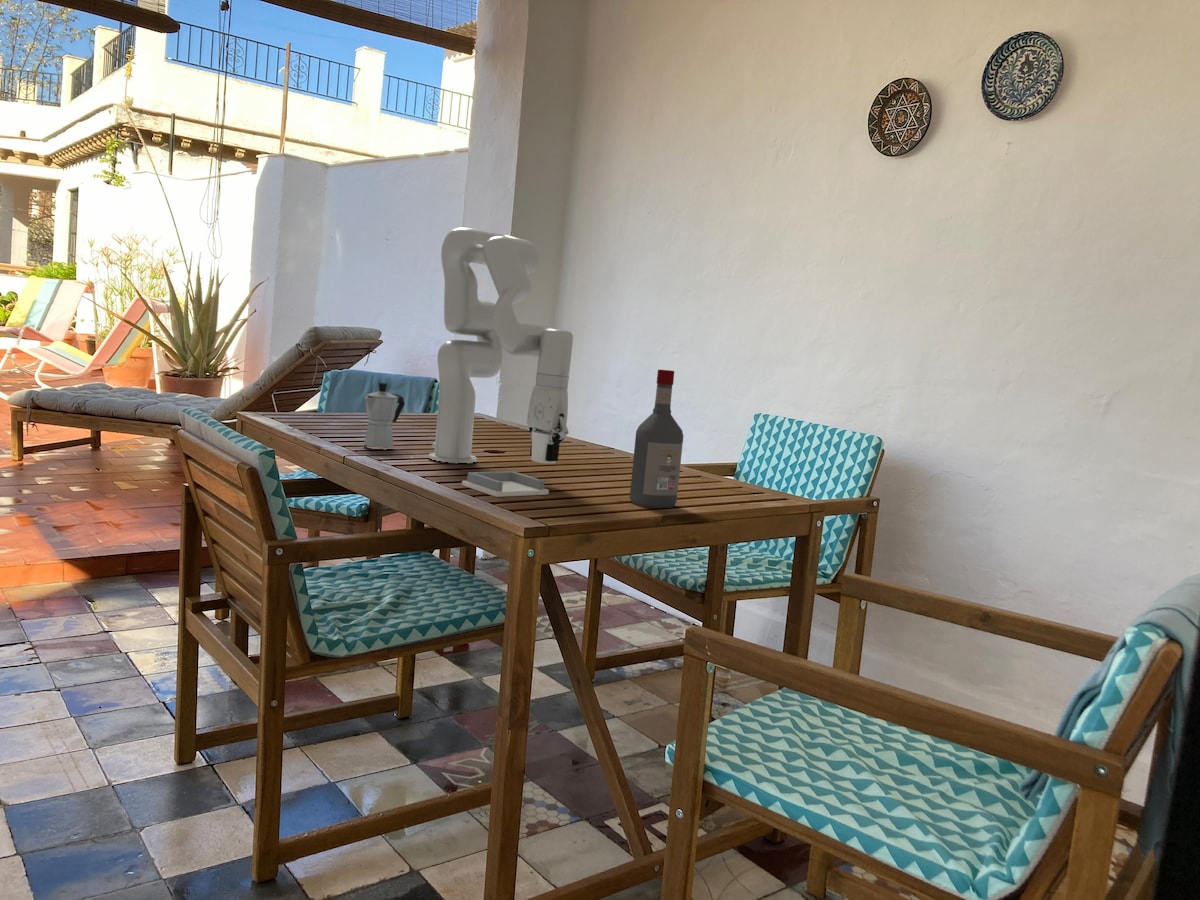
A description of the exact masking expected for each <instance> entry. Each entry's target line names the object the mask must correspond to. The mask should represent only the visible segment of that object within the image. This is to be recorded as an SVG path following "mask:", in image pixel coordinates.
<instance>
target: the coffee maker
mask: <svg viewBox="0 0 1200 900" xmlns="http://www.w3.org/2000/svg"><path fill="white" fill-rule="evenodd" d="M387 387H388V383H385V382H378V391H375V392H370V393H367V394H365V395H364V396H365V397H364V398H363V399H364V400H365V407H366V408H365V409H366V418H367V419H368V423H367V430H366V433H365V437H364V442H363V446H364V445H367V446H371V447H383V448H388V447H394V437H393V434H394V433H393V423H396V422H397V421H398V418H399V416H400V415H401V413H402V410H403V408H404V406H405V400H404V398H403V396H401V395H400V394H396V393H395V394H394V393H391V392H390V393H389V392H387V391H386V390H387Z"/></svg>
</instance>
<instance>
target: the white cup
mask: <svg viewBox="0 0 1200 900" xmlns="http://www.w3.org/2000/svg"><path fill="white" fill-rule="evenodd" d="M556 435H557V434H553V436H554V437H555V436H556ZM549 436H550V435H549V434H548V432H545V431H542V430H533V431H532V439H531V440H532V456H531V461H532V462H535V463H539V464H540V463H541V464H555V463H556V462H557V461H546V451H547V444H549Z"/></svg>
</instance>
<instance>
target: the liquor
mask: <svg viewBox="0 0 1200 900" xmlns="http://www.w3.org/2000/svg"><path fill="white" fill-rule="evenodd" d="M656 375H657V376H656V391H655V392H656V393H655V400H654V407H653V409H652V413H651V414H650V415H649V416H648V417H647V418H645V419H644V421H643V422H641V423H640V424H639V426H638V427H637V429H636V431H635V440H634V449H633V461H632V470H631V471H632V472H631V478H630V479H631V480H630V492H629V500H630V503H633V504H635V505H638V506H641V507H644V508H651V509H673V508H674V507H675V505H676V504H677V502H678V492H679V483H680V472H681V464H682V463H681V462H682V454H683V444H684V433H683V429H682V427H681V426H680V425H679V424H678V423H677V421H676V420H675V418H674V416H673V415H672V409H671V407H672V406H671V405H672V403H671V402H672V396H673V395H672V393H673V392H672V391H673V385H674V381H675V380H674V378H675V370H670V369H669V370H668V369H657V374H656Z"/></svg>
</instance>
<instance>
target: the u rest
mask: <svg viewBox="0 0 1200 900" xmlns="http://www.w3.org/2000/svg"><path fill="white" fill-rule="evenodd" d="M466 477H467V478H466V479H467V480H462V481H461V486H464V487H467V488H469V489H473V490H475V491H478V492H481V493H484V494H487V495H490V496H492V497H495V498H498V497H499V498H500V497H518V496H519V497H520V496H521V497H523V496H541V495H542V496H545V495H549V493H550V490H549V489H547V488H545V480H543V479H540V478H536V477H534V476H531V475H527V474H524V473H520V472H517V471H512V470H511V471H478V472H477V471H476V472H475V471H474V472H472V471H471V472H470V471H469V472H467V476H466Z"/></svg>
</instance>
